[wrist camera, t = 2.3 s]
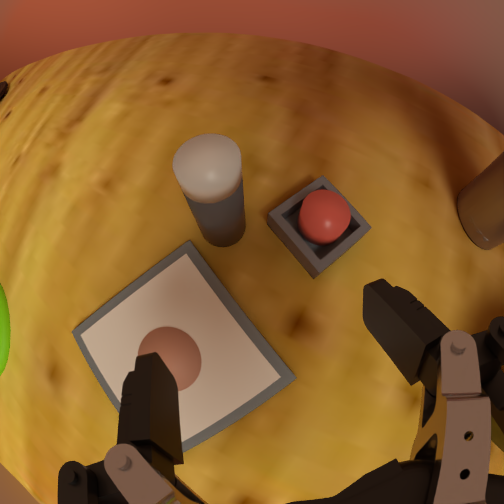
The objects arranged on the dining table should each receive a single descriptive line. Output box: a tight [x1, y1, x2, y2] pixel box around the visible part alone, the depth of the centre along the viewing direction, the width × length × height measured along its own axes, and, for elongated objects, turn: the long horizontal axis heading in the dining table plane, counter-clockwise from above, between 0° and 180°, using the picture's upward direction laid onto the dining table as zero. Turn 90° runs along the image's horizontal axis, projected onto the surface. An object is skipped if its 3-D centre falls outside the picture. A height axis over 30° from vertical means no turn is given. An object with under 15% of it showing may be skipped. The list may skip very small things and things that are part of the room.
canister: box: [173, 134, 246, 247], centre depth 22 cm, size 4×4×11 cm
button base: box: [267, 175, 372, 279], centre depth 26 cm, size 7×7×2 cm
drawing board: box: [72, 240, 296, 452], centre depth 23 cm, size 16×16×1 cm
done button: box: [297, 190, 351, 246], centre depth 24 cm, size 4×4×2 cm
